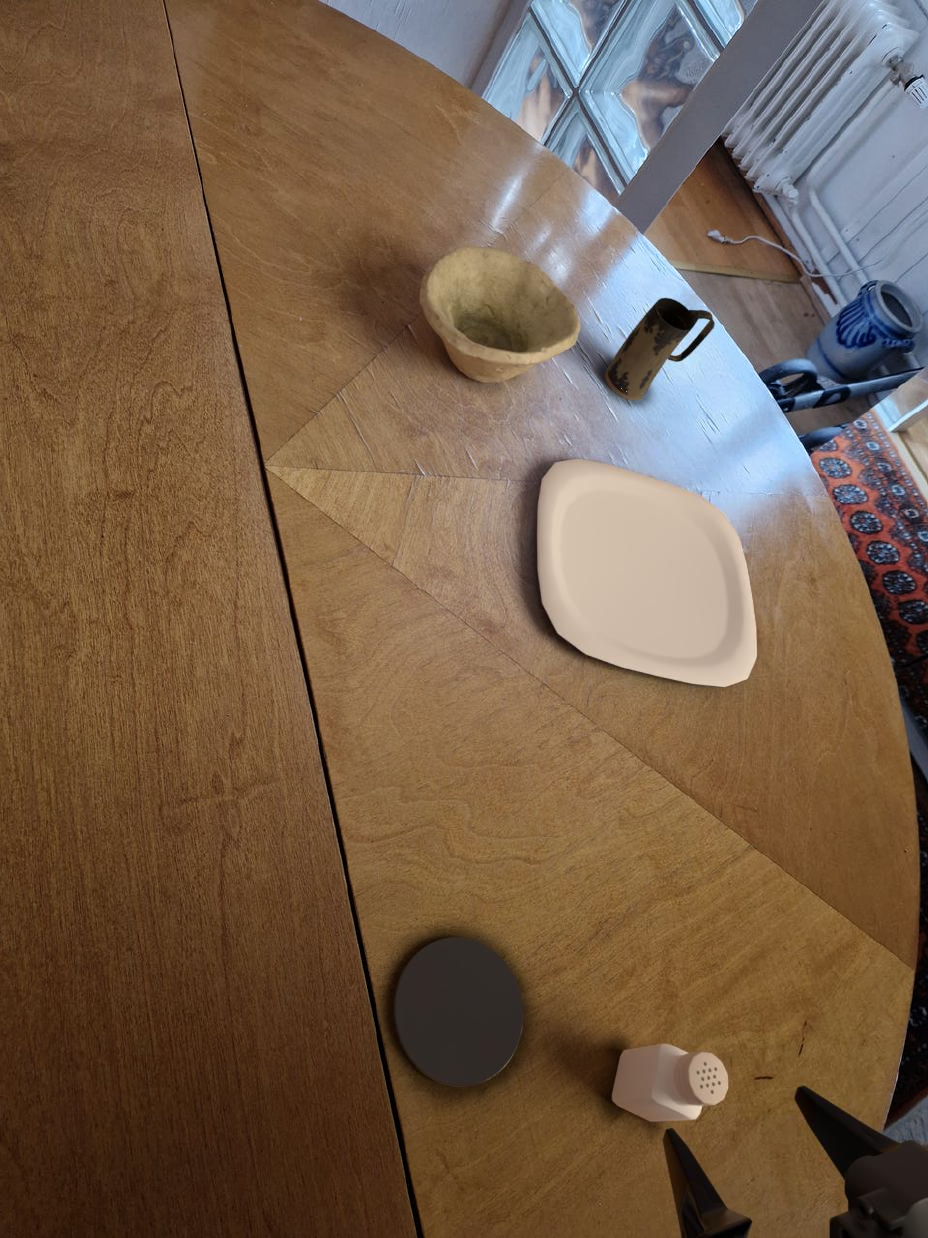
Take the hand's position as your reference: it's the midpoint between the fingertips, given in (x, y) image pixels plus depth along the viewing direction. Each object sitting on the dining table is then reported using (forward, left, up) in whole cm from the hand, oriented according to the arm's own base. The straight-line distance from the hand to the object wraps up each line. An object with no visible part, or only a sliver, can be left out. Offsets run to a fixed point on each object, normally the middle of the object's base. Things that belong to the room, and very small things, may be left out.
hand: (734, 1111), depth 50 cm
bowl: (+74, -17, -18) cm, 78 cm away
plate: (+44, -26, -18) cm, 54 cm away
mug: (+70, -37, -18) cm, 81 cm away
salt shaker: (+1, -5, -18) cm, 18 cm away
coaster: (+10, +7, -18) cm, 21 cm away
